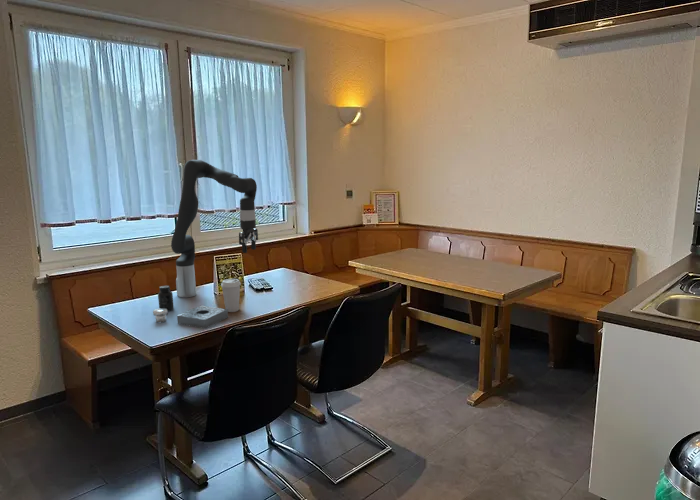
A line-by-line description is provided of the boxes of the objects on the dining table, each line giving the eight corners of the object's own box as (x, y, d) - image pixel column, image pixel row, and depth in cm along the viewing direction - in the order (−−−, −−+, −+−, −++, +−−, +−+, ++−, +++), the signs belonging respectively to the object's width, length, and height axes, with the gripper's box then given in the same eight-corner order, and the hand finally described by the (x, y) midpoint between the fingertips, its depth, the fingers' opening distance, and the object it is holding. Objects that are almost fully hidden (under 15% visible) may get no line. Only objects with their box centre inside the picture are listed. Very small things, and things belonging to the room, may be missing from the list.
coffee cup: (232, 314, 239) (230, 284, 236) (218, 311, 244) (216, 281, 241) (246, 308, 247) (244, 279, 244) (232, 306, 252) (230, 277, 249)
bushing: (150, 322, 229) (149, 311, 228) (160, 318, 235) (160, 307, 234) (161, 324, 227) (160, 313, 226) (171, 319, 232) (170, 309, 231)
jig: (177, 323, 227) (177, 315, 226) (201, 313, 241) (200, 305, 240) (205, 328, 220) (205, 319, 220) (228, 317, 235) (227, 309, 234)
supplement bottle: (176, 308, 249) (174, 285, 247) (167, 312, 243) (165, 288, 241) (165, 307, 252) (163, 284, 249) (156, 311, 245) (154, 287, 243)
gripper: (248, 216, 253) (250, 248, 256) (233, 220, 239) (234, 253, 243) (261, 217, 250) (262, 248, 253) (246, 221, 237) (248, 254, 240)
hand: (249, 251), depth 248 cm, fingers open, 8 cm apart
